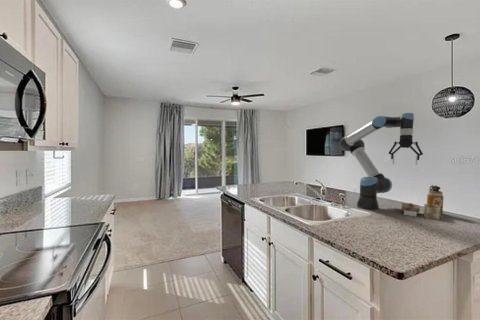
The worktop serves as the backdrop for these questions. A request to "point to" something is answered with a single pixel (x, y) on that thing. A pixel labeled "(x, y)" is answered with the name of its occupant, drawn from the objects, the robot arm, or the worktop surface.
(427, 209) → the box
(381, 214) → the worktop surface
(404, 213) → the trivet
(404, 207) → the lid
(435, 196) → the canister
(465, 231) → the worktop surface
